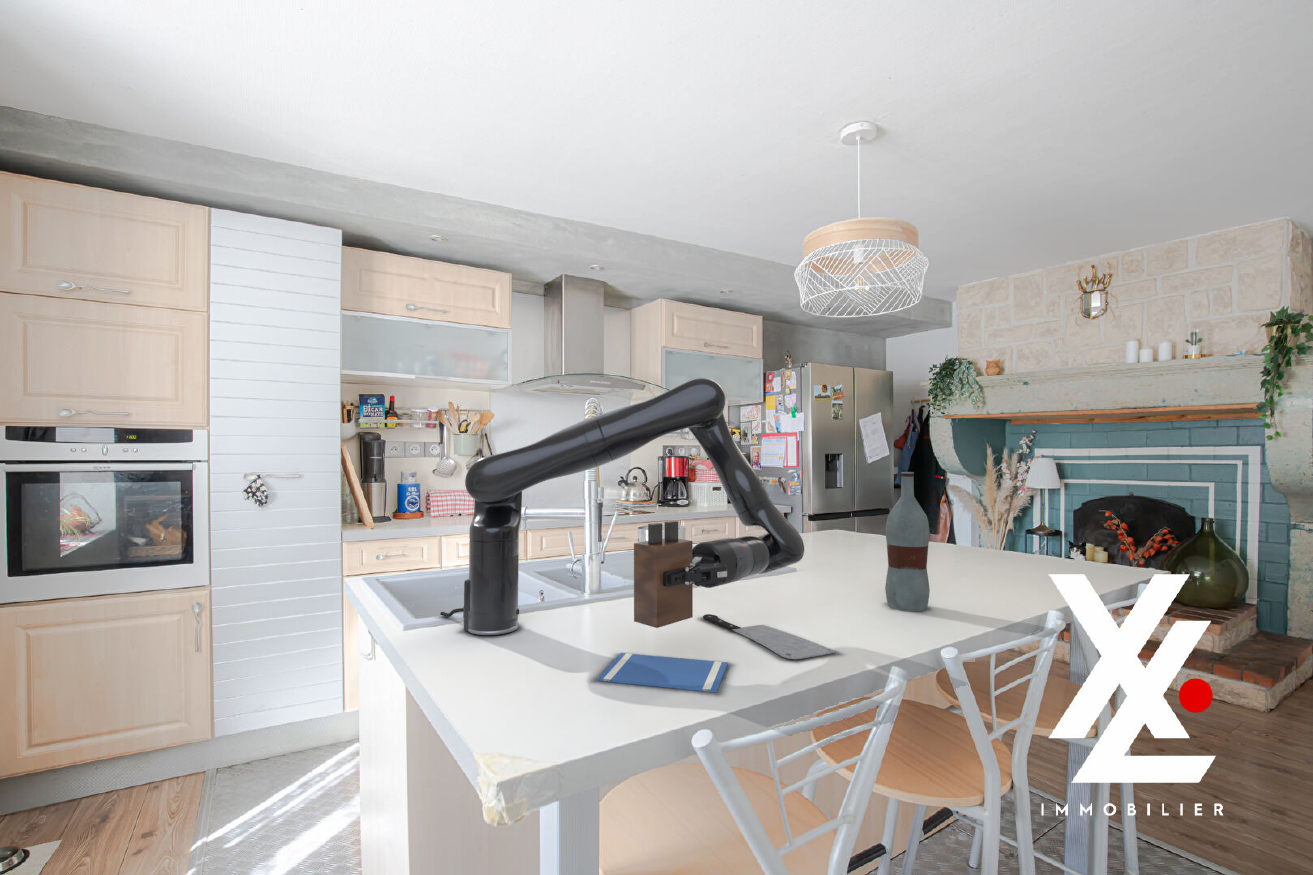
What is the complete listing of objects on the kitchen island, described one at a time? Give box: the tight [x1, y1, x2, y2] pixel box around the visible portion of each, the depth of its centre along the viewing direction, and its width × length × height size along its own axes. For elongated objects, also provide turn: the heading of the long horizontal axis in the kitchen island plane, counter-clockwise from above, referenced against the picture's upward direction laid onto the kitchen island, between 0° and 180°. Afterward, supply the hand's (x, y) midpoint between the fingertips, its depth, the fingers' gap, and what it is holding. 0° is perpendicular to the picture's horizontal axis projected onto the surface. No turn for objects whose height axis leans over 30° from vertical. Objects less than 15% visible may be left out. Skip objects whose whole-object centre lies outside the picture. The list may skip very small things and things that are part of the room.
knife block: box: [633, 520, 694, 629], centre depth 97 cm, size 5×8×15 cm, turn 135°
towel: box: [597, 652, 728, 694], centre depth 98 cm, size 18×12×1 cm, turn 76°
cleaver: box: [702, 613, 837, 660], centre depth 118 cm, size 29×1×10 cm
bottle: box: [884, 471, 931, 612], centre depth 140 cm, size 9×9×30 cm
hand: (651, 576), depth 95 cm, fingers closed on knife block, 5 cm apart
